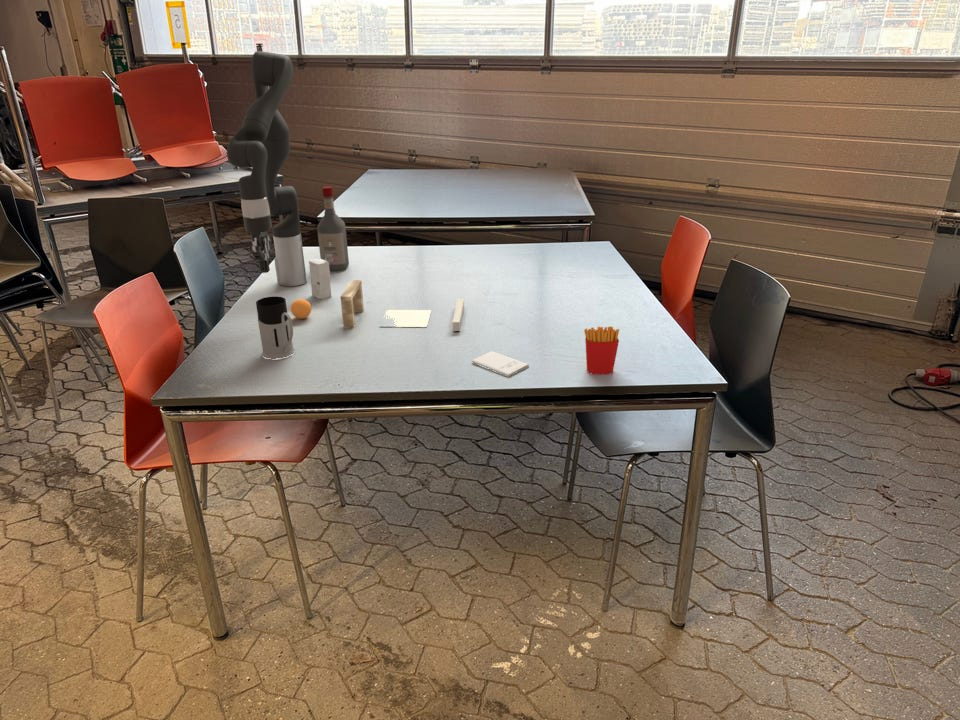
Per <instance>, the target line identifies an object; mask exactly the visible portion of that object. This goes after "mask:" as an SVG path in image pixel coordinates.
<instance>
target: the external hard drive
mask: <svg viewBox="0 0 960 720" xmlns="http://www.w3.org/2000/svg"><path fill="white" fill-rule="evenodd" d="M472 362H473V363H476V364H479V365H481V366H484V367H486V368H489V369H491V370H494V371H496V372H498V373H501V374H503V375H502V376H504V375H506V376H508V377H507V378H510V377H512V376H513V375H512V374H514V375H516V374H517V373H519V372H521V371H523V370H525V369H527V368H529V366H530V365H529V364H528V363H525V362H522V361H521V360H517V359H515V358H512V357H510V356H506V355H504V354H501V353H498V352H495V351H494V350H490V351H489V352H486V353H484V354H482V355H480V356H478V357H475V358H474V359H472V360H471V363H472ZM524 368H525V369H524ZM522 369H523V370H522ZM491 370H490V371H491ZM520 370H521V371H520ZM496 372H495V373H496ZM516 372H517V373H516ZM498 373H497V374H498ZM515 373H516V374H515ZM501 374H500V375H501ZM511 375H512V376H511ZM506 376H505V377H506ZM509 376H510V377H509Z"/></svg>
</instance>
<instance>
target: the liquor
mask: <svg viewBox="0 0 960 720" xmlns="http://www.w3.org/2000/svg"><path fill="white" fill-rule="evenodd" d="M321 191H322V197H323V203H324V205H323V206H324V212H323V213H324V215H323V216H322V218H321V220H320V221H319V222H318V224H317V226H316V231H317V238H318V239H317V240H318V247H319V258H320V259H323V260H325V261H327V262H329V270H330V273H340V271H341V272H344V270H345V271H346V270H348V267H349V264H350V261H349V251H348V240H347V239H348V238H347V227H346V223H345V221H344V220H343V219H342V218H341V217H339V216H338V214H336V211H335V205H334V203H335V202H334V190H333V186H330V185H329V186H328V185H327V186H326V185H325V186H322V190H321Z"/></svg>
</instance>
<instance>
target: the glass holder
mask: <svg viewBox="0 0 960 720" xmlns="http://www.w3.org/2000/svg"><path fill="white" fill-rule="evenodd" d="M255 305H256V312H257V323H258V328H259V335H260V341H261V347H262V353H261V356H262V355H263V356H264V357H266V358H271V359H276V358H283V357H287V356H289V355H291V354H293V353H294V351H295V352H296V349H295V348H294V345H293V337H294V327H293V325H294V324H293V320H292V317H291V316H290V314H289V313H288V307H287V301H286V298H285V297H283V296H279V295H278V296H277V295H276V296H266V297H265V296H264V297H262V298H260V299H257V300H256V302H255ZM294 349H295V350H294Z"/></svg>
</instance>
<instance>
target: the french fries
mask: <svg viewBox="0 0 960 720" xmlns="http://www.w3.org/2000/svg"><path fill="white" fill-rule="evenodd" d="M619 332H620V329H619V328H616V329H614V326H608V327H603V326H597V329H596V328H594V327H590V328H585V329H584V335H585V337H584V338H585V340H584V341H585V359H586V371H588V372H589V373H588V372H587V373H588V374H590V373H592V374H591V375H610V373H611V374H612V372H614V369H615V364H616V357H617V353H618V349H619V348H618V347H619V343H620V340H619V338H618V337H619Z"/></svg>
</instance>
